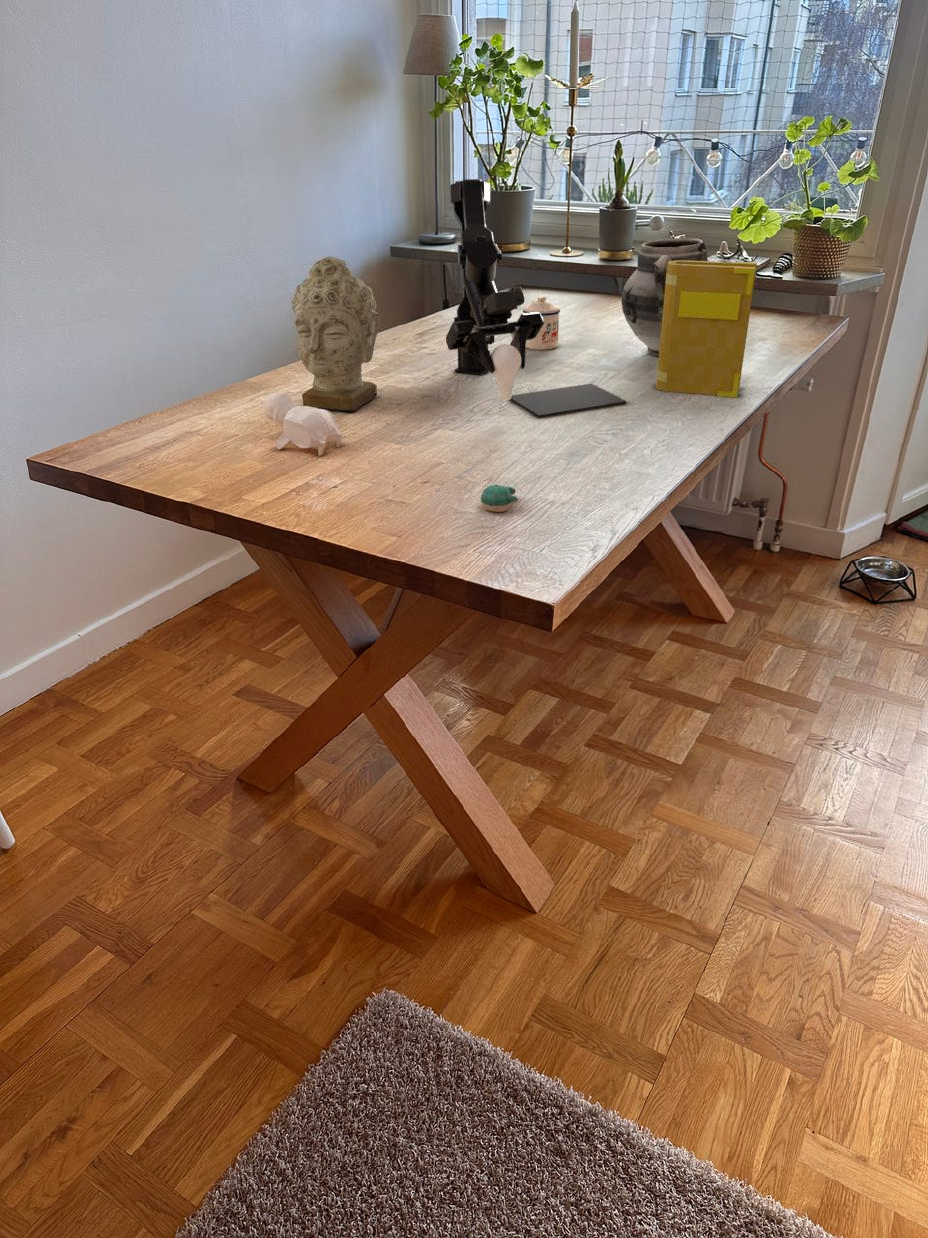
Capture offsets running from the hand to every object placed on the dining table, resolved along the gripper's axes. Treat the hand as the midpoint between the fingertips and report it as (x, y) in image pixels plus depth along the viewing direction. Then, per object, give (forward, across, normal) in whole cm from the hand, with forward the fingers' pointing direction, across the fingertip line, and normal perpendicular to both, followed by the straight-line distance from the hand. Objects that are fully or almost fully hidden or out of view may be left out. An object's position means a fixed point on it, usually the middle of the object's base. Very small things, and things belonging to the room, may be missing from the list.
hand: (508, 369), depth 170 cm
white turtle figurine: (+5, -40, +8) cm, 42 cm away
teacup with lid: (-26, +33, +41) cm, 59 cm away
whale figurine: (+33, -20, -20) cm, 43 cm away
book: (+8, +44, +6) cm, 45 cm away
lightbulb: (+4, 0, +6) cm, 7 cm away
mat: (+4, +15, +10) cm, 19 cm away
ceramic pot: (-12, +55, +26) cm, 62 cm away
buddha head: (-11, -26, +24) cm, 37 cm away
